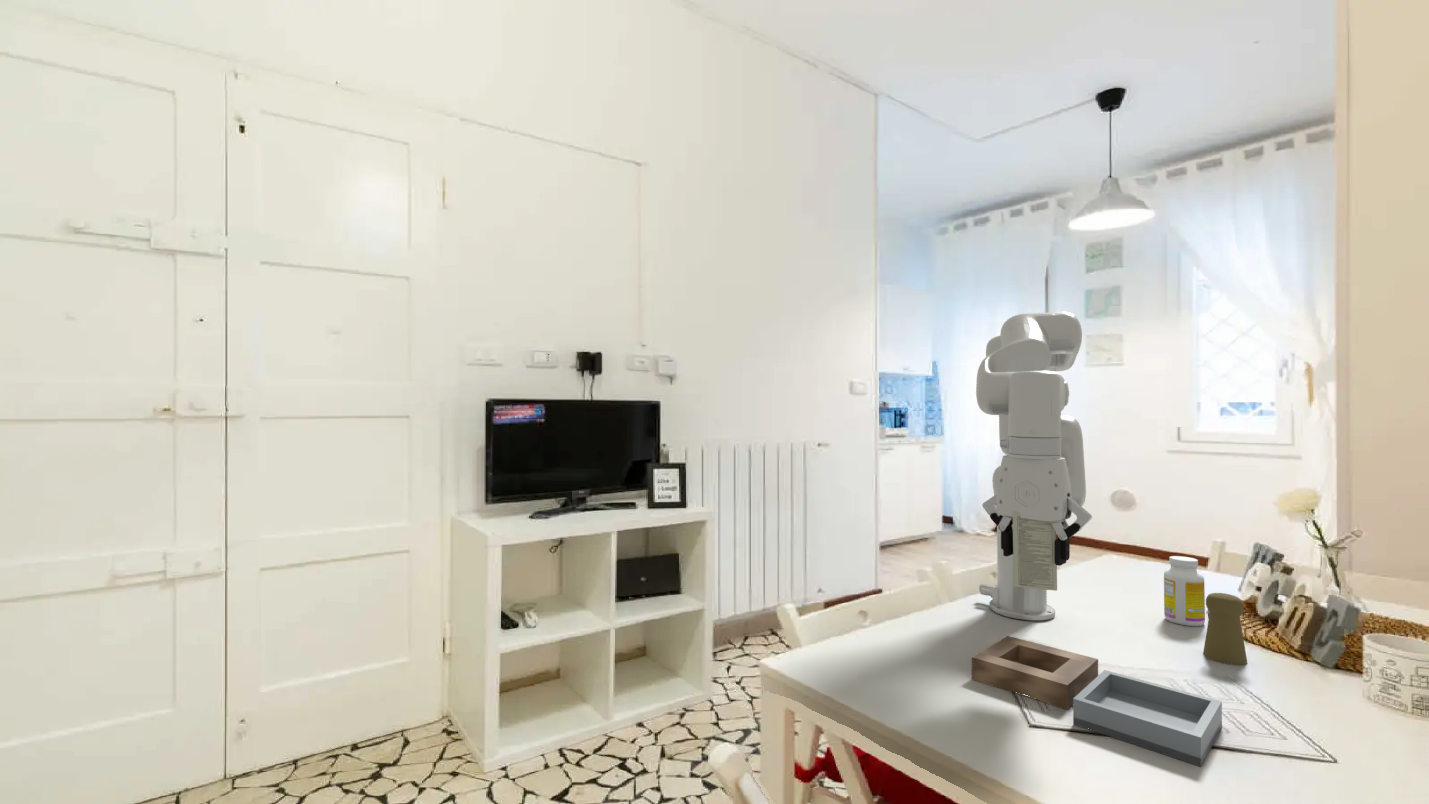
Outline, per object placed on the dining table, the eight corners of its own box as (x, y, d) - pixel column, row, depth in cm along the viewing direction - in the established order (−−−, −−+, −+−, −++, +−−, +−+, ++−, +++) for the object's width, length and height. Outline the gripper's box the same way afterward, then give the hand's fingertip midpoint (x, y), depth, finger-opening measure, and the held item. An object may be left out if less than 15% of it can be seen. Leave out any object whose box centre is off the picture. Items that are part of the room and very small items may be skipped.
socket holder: (971, 679, 101) (971, 657, 101) (1007, 655, 110) (1007, 635, 110) (1067, 709, 91) (1067, 685, 91) (1098, 681, 100) (1098, 659, 100)
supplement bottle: (1209, 622, 128) (1208, 559, 128) (1199, 629, 124) (1199, 564, 124) (1170, 614, 133) (1169, 553, 134) (1159, 620, 129) (1159, 557, 129)
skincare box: (1055, 584, 102) (1055, 509, 102) (1057, 592, 98) (1057, 513, 98) (1012, 579, 104) (1012, 506, 104) (1012, 587, 100) (1012, 510, 100)
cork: (1255, 666, 106) (1255, 600, 106) (1215, 663, 107) (1214, 598, 108) (1234, 652, 112) (1233, 590, 112) (1195, 650, 113) (1195, 588, 114)
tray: (1073, 724, 86) (1073, 698, 86) (1104, 693, 96) (1104, 670, 96) (1201, 766, 76) (1200, 737, 76) (1221, 727, 86) (1221, 701, 86)
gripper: (970, 446, 105) (970, 553, 105) (1087, 452, 92) (1087, 574, 92) (989, 444, 110) (989, 546, 110) (1103, 450, 97) (1103, 565, 97)
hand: (1034, 558), depth 101 cm, fingers closed on skincare box, 7 cm apart
